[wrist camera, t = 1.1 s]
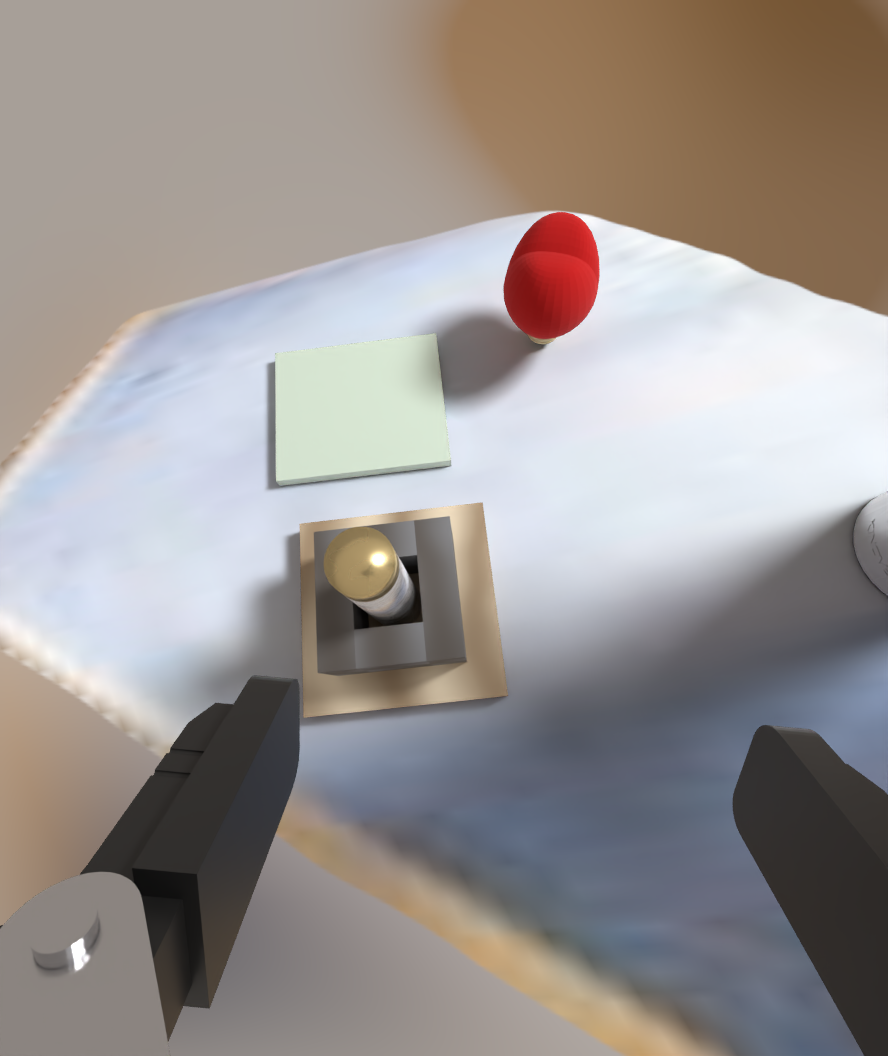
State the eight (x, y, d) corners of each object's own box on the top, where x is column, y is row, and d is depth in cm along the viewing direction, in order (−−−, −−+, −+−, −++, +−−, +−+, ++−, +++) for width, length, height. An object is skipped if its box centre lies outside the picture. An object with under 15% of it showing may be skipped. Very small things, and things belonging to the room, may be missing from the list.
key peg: (419, 578, 39) (392, 522, 26) (423, 626, 38) (397, 592, 25) (371, 583, 39) (322, 530, 27) (374, 631, 38) (324, 600, 25)
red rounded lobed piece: (572, 390, 44) (598, 307, 35) (490, 376, 45) (493, 290, 36) (590, 299, 47) (619, 199, 37) (512, 287, 48) (520, 186, 38)
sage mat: (436, 340, 47) (436, 333, 46) (451, 465, 43) (450, 460, 42) (279, 360, 47) (275, 353, 46) (280, 485, 43) (275, 481, 42)
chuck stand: (482, 509, 42) (483, 476, 35) (506, 695, 37) (512, 695, 31) (305, 529, 42) (276, 501, 36) (310, 716, 38) (277, 721, 32)
